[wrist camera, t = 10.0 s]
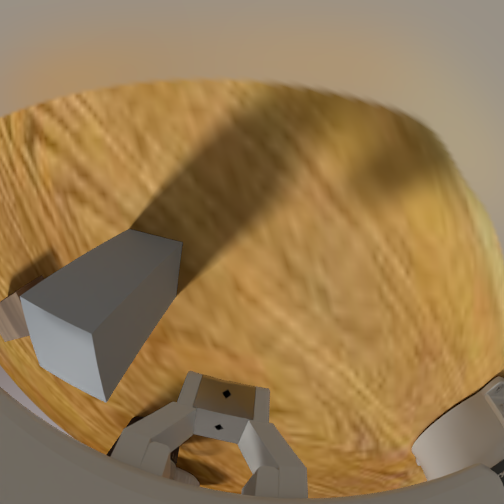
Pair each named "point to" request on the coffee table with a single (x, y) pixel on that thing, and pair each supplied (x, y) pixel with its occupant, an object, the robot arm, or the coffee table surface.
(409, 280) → the coffee table surface
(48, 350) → the slate block
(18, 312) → the walnut block
